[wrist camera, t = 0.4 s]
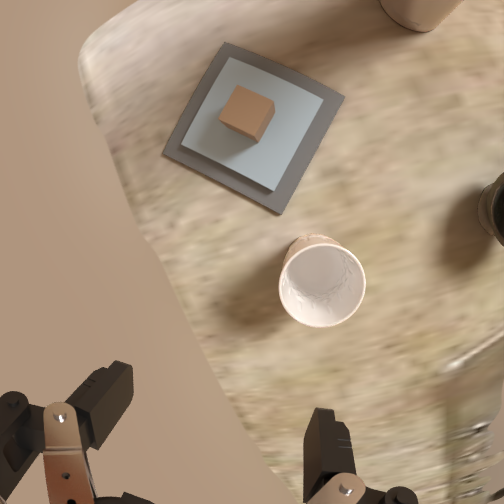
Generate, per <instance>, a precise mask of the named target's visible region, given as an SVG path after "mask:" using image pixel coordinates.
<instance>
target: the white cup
mask: <svg viewBox="0 0 504 504" xmlns="http://www.w3.org/2000/svg"><path fill="white" fill-rule="evenodd" d="M365 286H366V281H365V274H364V271H363V268H362V266H361V264H360V262H359V261H358V260H357V258H356V257H355V256H354V255H353V254H352V253H351V252H349V251H348V250H347V249H345V248H344V247H343V246H342V245H340V244H339V243H338V242H336V241H335V240H333V239H331V238H329V237H327V236H325V235H322V234H314V233H310V234H307V235H304V236H301V237H299V238H298V239H297V240H296V241H295V242H294V243H293V244H292V245H291V246H290V247H289V250H288V252H287V254H286V256H285V259H284V262H283V265H282V270H281V275H280V279H279V296H280V300H281V303H282V305H283V307H284V308H285V310H286V311H287V313H288V314H289V315H290V316H291V317H292V318H294V319H295V320H296V321H298V322H300V323H302V324H304V325H307V326H310V327H317V328H323V327H330V326H334V325H337V324H339V323H341V322H343V321H345V320H346V319H348V318H349V317H350V316H351V315H352V314H353V313H354V312H355V311H356V310H357V308H358V307H359V305H360V304H361V302H362V299H363V297H364V293H365Z"/></svg>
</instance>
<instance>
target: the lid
mask: <svg viewBox="0 0 504 504" xmlns="http://www.w3.org/2000/svg"><path fill="white" fill-rule="evenodd" d="M322 102H323V99H321V98H320V97H318V96H316V95H314V94H312V93H310V92H308V91H306V90H304V89H302V88H300V87H298V86H296V85H294V84H292V83H289V82H287V81H285V80H283V79H281V78H279V77H276V76H274V75H272V74H270V73H268V72H265V71H263V70H261V69H258V68H256V67H253V66H251V65H249V64H246V63H244V62H241V61H239V60H236V59H234V58H231V57H229V59H228V60H227V62H226V64H225V65H224V67H223V69H222V70H221V72H220V74H219V75H218V77H217V79H216V80H215V82H214V84H213V86H212V87H211V89H210V91H209V93H208V94H207V96H206V98H205V100H204V102H203V103H202V105H201V107H200V109H199V111H198V113H197V114H196V116H195V118H194V120H193V122H192V124H191V126H190V128H189V129H188V131H187V133H186V135H185V137H184V139H183V141H182V143H181V145H183V146H186V147H188V148H190V149H192V150H194V151H196V152H198V153H200V154H202V155H204V156H206V157H208V158H210V159H212V160H214V161H216V162H218V163H220V164H222V165H224V166H226V167H228V168H230V169H232V170H234V171H236V172H238V173H240V174H242V175H244V176H246V177H248V178H250V179H252V180H254V181H256V182H258V183H259V184H261V185H263V186H265V187H267V188H269V189H271V190H273V191H275V189H276V187H277V185H278V183H279V181H280V179H281V178H282V176H283V174H284V172H285V170H286V168H287V166H288V165H289V163H290V161H291V159H292V157H293V155H294V154H295V152H296V150H297V148H298V146H299V144H300V142H301V141H302V139H303V137H304V135H305V133H306V131H307V130H308V128H309V126H310V124H311V122H312V120H313V119H314V117H315V115H316V113H317V111H318V109H319V108H320V106H321V104H322Z"/></svg>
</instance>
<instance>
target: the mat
mask: <svg viewBox="0 0 504 504" xmlns="http://www.w3.org/2000/svg"><path fill="white" fill-rule="evenodd" d="M229 57H231V58H234V59H236V60H239V61H241V62H244V63H246V64H249V65H251V66H253V67H256V68H258V69H261V70H263V71H265V72H268V73H270V74H272V75H274V76H276V77H279V78H281V79H283V80H285V81H287V82H289V83H292V84H294V85H296V86H298V87H300V88H302V89H304V90H306V91H308V92H310V93H312V94H314V95H316V96H318V97H320V98H321V99H323V102H322V104H321V106H320V108H319V109H318V111H317V113H316V115H315V117H314V119H313V120H312V122H311V124H310V126H309V128H308V130H307V131H306V133H305V135H304V137H303V139H302V141H301V142H300V144H299V146H298V148H297V150H296V152H295V154H294V155H293V157H292V159H291V161H290V163H289V165H288V166H287V168H286V170H285V172H284V174H283V176H282V178H281V179H280V181H279V183H278V185H277V187H276V189H275V191H273V190H271V189H269V188H267V187H265V186H263V185H261V184H259V183H258V182H256V181H254V180H252V179H250V178H248V177H246V176H244V175H242V174H240V173H238V172H236V171H234V170H232V169H230V168H228V167H226V166H224V165H222V164H220V163H218V162H216V161H214V160H212V159H210V158H208V157H206V156H204V155H202V154H200V153H198V152H196V151H194V150H192V149H190V148H188V147H186V146H183V145H181V143H182V141H183V139H184V137H185V135H186V133H187V131H188V129H189V128H190V126H191V124H192V122H193V120H194V118H195V116H196V114H197V113H198V111H199V109H200V107H201V105H202V103H203V102H204V100H205V98H206V96H207V94H208V93H209V91H210V89H211V87H212V86H213V84H214V82H215V80H216V79H217V77H218V75H219V74H220V72H221V70H222V69H223V67H224V65H225V64H226V62H227V60H228V59H229ZM344 98H345V96H343V95H341V94H340V93H338V92H336V91H334V90H332V89H330V88H328V87H327V86H325V85H323V84H321V83H319V82H317V81H315V80H313V79H311V78H309V77H307V76H305V75H303V74H301V73H298V72H296V71H294V70H292V69H290V68H288V67H285V66H283V65H281V64H279V63H276V62H274V61H272V60H270V59H267V58H265V57H262V56H260V55H258V54H255V53H253V52H250V51H247V50H245V49H242V48H240V47H237V46H234V45H232V44H229V43H226V42H224V44H223V45H222V47H221V48H220V50H219V52H218V53H217V55H216V56H215V58H214V60H213V61H212V63H211V65H210V66H209V68H208V70H207V71H206V73H205V75H204V76H203V78H202V80H201V82H200V83H199V85H198V87H197V89H196V90H195V92H194V94H193V96H192V97H191V99H190V101H189V103H188V105H187V107H186V108H185V110H184V112H183V114H182V116H181V118H180V120H179V122H178V124H177V125H176V127H175V129H174V131H173V133H172V135H171V137H170V139H169V141H168V143H167V145H166V147H165V149H164V151H163V154H164V155H166V156H168V157H170V158H172V159H175V160H177V161H179V162H181V163H183V164H185V165H187V166H189V167H191V168H193V169H195V170H197V171H199V172H201V173H203V174H205V175H207V176H209V177H211V178H212V179H214V180H216V181H218V182H220V183H222V184H224V185H226V186H228V187H230V188H232V189H234V190H236V191H238V192H240V193H241V194H243V195H245V196H247V197H249V198H251V199H253V200H255V201H257V202H259V203H260V204H262V205H264V206H266V207H268V208H270V209H272V210H273V211H275V212H277V213H279V214H281V215H282V213H283V211H284V209H285V207H286V206H287V204H288V202H289V200H290V198H291V196H292V195H293V193H294V191H295V189H296V187H297V185H298V184H299V182H300V180H301V178H302V176H303V174H304V172H305V171H306V169H307V167H308V165H309V163H310V161H311V160H312V158H313V156H314V154H315V152H316V150H317V148H318V147H319V145H320V143H321V141H322V139H323V137H324V135H325V134H326V132H327V130H328V128H329V126H330V124H331V122H332V121H333V119H334V117H335V115H336V113H337V111H338V109H339V107H340V106H341V104H342V102H343V100H344Z"/></svg>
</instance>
